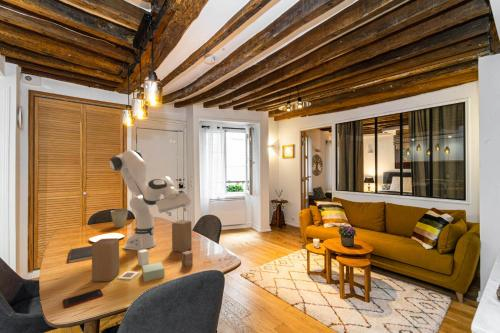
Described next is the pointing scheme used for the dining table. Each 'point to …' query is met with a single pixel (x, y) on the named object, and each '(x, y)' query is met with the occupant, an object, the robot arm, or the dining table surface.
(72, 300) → the cell phone
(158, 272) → the base block
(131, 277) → the card
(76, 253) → the hardcover book
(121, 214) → the plant pot
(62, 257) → the dining table surface
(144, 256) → the off-white block
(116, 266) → the wooden block
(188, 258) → the walnut block
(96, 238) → the plate
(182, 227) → the block
